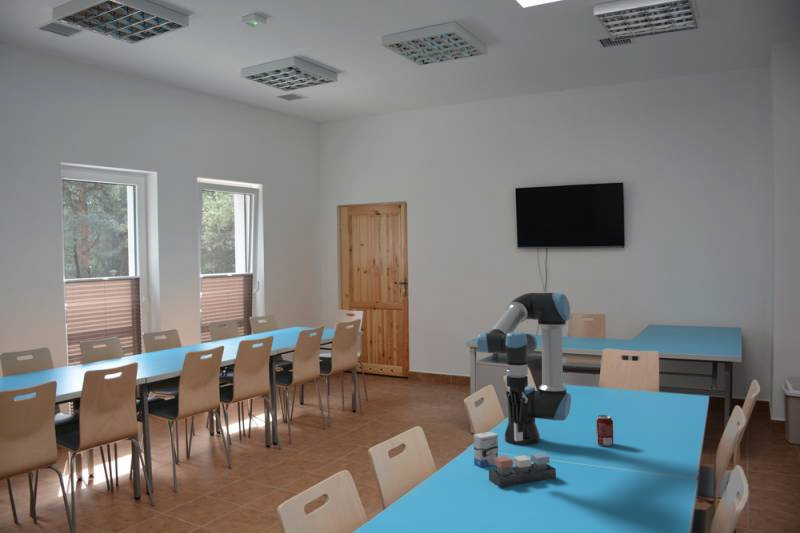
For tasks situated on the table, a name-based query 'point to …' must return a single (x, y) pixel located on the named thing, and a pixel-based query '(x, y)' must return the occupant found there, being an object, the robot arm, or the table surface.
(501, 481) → the console
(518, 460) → the key white
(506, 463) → the key brick
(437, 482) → the table surface
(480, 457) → the ink box
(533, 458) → the key slate
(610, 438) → the soda can
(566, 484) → the table surface
